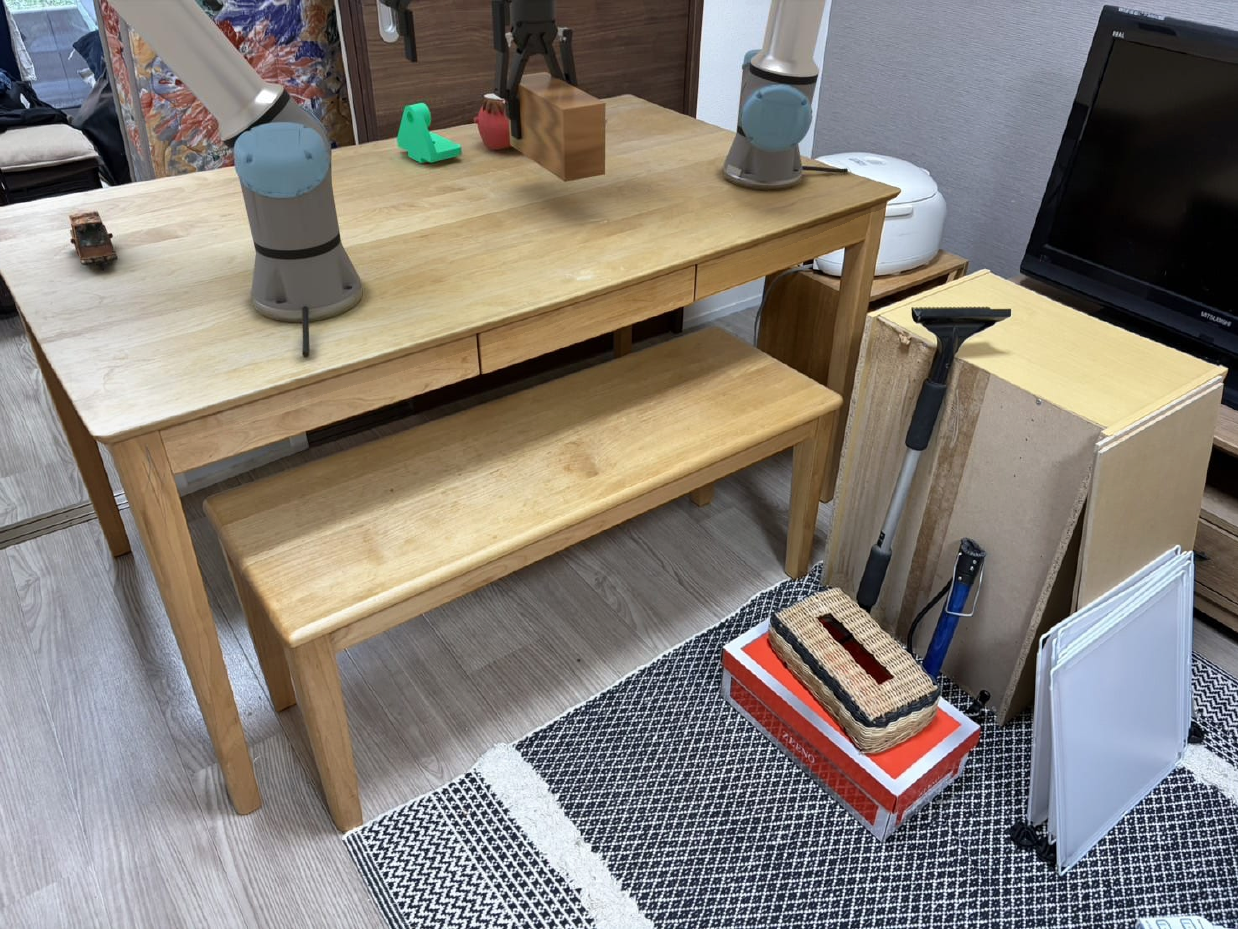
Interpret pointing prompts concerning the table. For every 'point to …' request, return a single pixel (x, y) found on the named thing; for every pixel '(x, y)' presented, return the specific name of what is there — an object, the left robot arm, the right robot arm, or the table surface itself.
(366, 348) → the table surface
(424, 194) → the table surface
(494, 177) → the table surface
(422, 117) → the camera mount
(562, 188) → the table surface
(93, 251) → the toy car
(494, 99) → the toy
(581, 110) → the box
